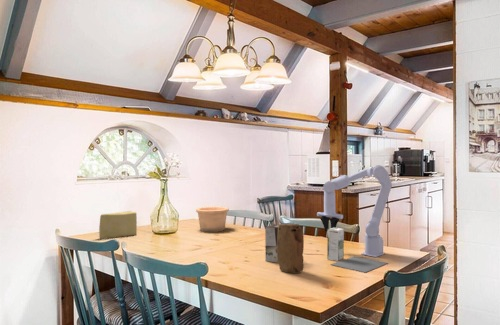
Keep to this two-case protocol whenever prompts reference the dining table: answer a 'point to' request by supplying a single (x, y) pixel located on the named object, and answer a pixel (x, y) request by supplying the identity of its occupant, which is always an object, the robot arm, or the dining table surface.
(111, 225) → the cheese
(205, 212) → the pottery
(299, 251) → the block
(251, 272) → the dining table surface
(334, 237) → the syrup box
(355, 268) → the mat
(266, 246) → the coffee box
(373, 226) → the robot arm
